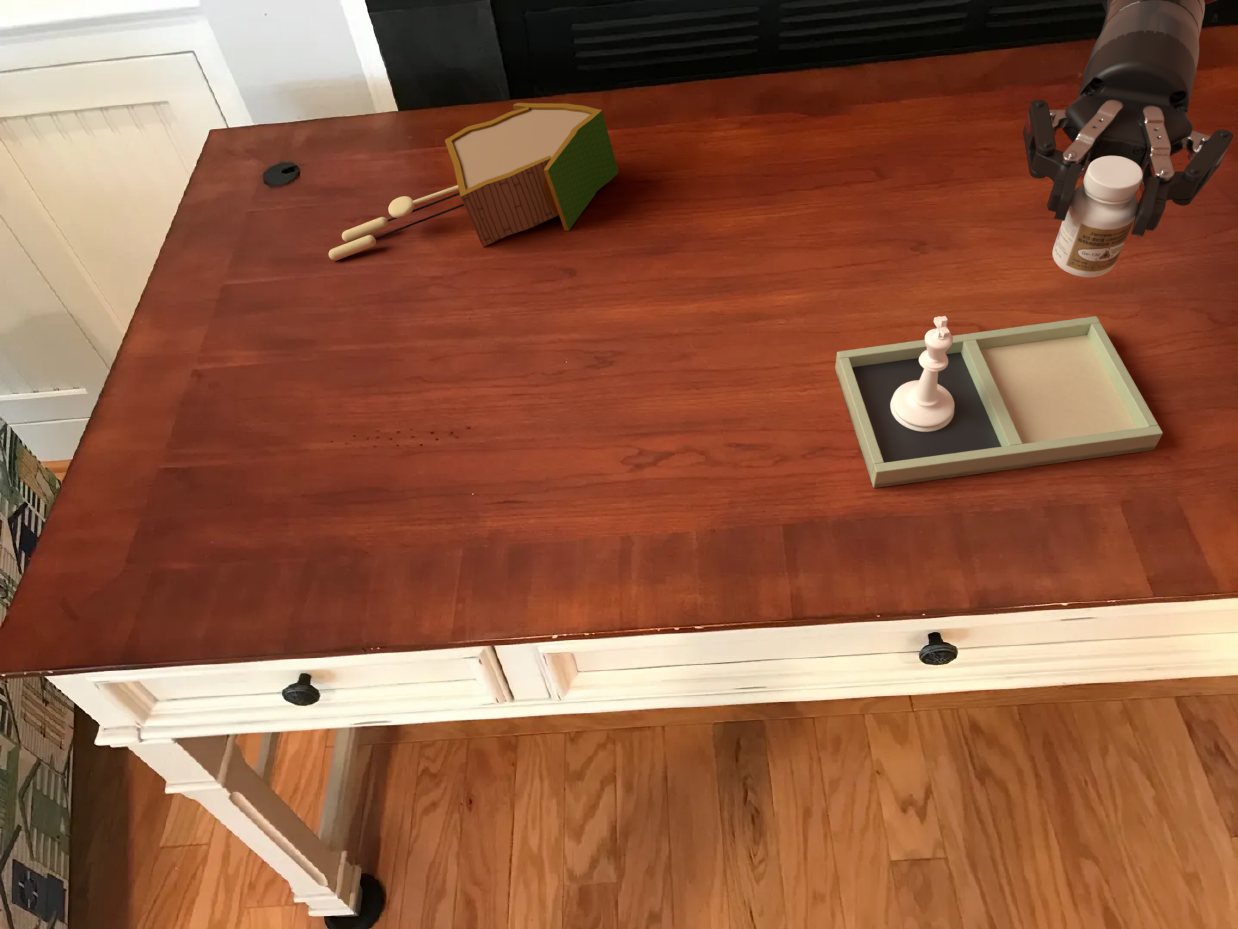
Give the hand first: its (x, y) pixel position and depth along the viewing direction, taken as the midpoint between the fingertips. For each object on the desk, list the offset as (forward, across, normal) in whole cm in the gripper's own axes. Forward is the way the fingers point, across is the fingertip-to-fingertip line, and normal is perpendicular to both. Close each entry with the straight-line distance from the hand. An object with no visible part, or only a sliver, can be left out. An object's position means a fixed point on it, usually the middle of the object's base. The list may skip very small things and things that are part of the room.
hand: (1102, 216), depth 66 cm
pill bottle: (-3, 0, +6) cm, 7 cm away
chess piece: (+6, -8, +17) cm, 20 cm away
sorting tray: (+3, -3, +18) cm, 18 cm away
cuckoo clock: (-4, -55, +18) cm, 58 cm away
